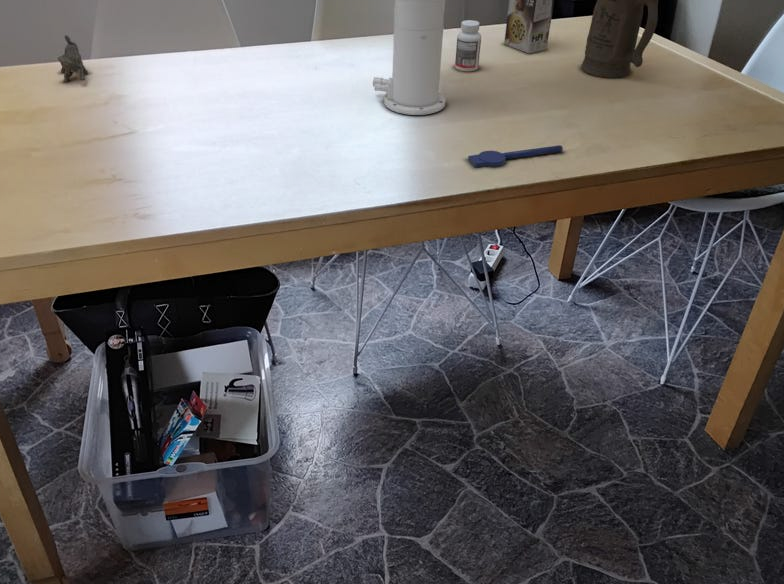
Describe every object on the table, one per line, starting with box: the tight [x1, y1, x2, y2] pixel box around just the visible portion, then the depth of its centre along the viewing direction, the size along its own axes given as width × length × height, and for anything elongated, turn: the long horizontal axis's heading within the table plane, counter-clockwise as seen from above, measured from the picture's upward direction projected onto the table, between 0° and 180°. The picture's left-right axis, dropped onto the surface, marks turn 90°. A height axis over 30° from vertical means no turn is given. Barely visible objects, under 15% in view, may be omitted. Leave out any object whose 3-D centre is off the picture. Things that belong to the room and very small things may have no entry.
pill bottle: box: [454, 19, 482, 72], centre depth 163 cm, size 5×5×10 cm
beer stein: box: [581, 0, 659, 79], centre depth 158 cm, size 15×11×20 cm
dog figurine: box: [57, 34, 89, 83], centre depth 156 cm, size 12×6×7 cm, turn 16°
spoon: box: [467, 144, 564, 168], centre depth 130 cm, size 18×5×1 cm, turn 108°
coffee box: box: [503, 0, 555, 54], centre depth 173 cm, size 9×6×16 cm
